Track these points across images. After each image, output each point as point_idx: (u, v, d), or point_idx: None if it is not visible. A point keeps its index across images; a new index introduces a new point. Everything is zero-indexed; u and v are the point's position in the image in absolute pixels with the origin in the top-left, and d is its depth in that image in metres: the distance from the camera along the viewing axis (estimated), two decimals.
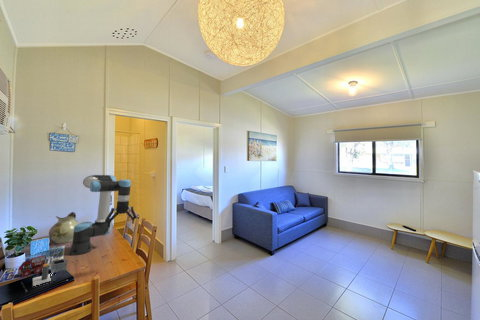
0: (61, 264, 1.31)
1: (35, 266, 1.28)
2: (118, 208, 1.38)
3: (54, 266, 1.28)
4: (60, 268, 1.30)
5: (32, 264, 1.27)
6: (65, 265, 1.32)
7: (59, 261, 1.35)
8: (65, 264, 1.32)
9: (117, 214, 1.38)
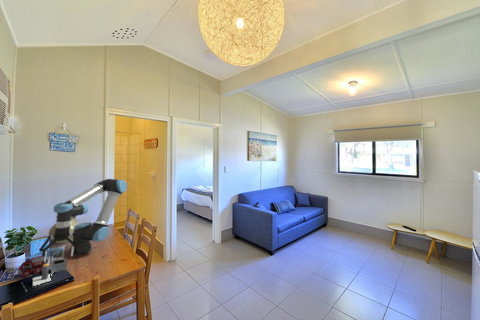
0: (61, 264, 1.31)
1: (35, 266, 1.28)
2: (56, 235, 1.30)
3: (54, 266, 1.28)
4: (60, 268, 1.30)
5: (32, 264, 1.27)
6: (65, 265, 1.32)
7: (59, 261, 1.35)
8: (65, 264, 1.32)
9: (54, 242, 1.29)
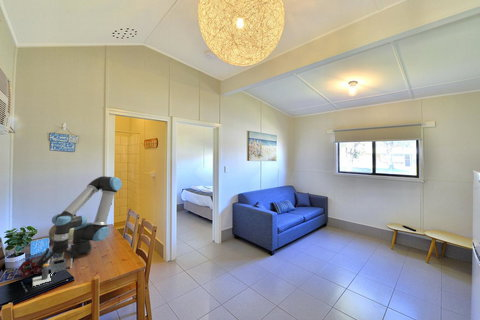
0: (61, 264, 1.31)
1: (35, 266, 1.28)
2: (54, 248, 1.30)
3: (54, 266, 1.28)
4: (60, 268, 1.30)
5: (32, 264, 1.27)
6: (65, 265, 1.32)
7: (59, 261, 1.35)
8: (65, 264, 1.32)
9: None
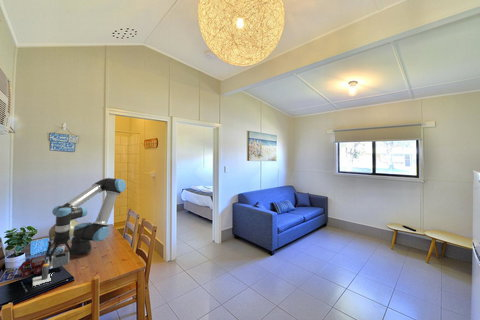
0: (63, 257, 1.32)
1: (35, 266, 1.28)
2: (55, 239, 1.30)
3: (55, 259, 1.29)
4: (61, 262, 1.31)
5: (32, 264, 1.27)
6: (67, 258, 1.33)
7: (61, 255, 1.35)
8: (67, 257, 1.33)
9: (56, 246, 1.31)
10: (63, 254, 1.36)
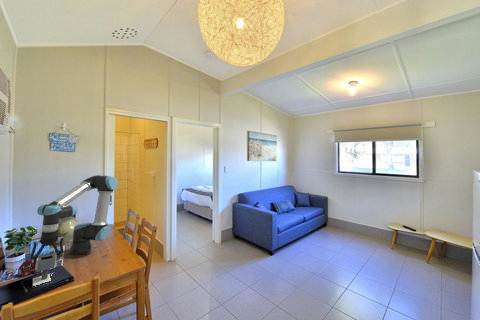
0: (49, 260, 1.20)
1: (35, 266, 1.28)
2: (42, 240, 1.19)
3: (41, 262, 1.17)
4: (47, 265, 1.19)
5: (32, 264, 1.27)
6: (53, 261, 1.21)
7: (47, 257, 1.24)
8: (53, 260, 1.21)
9: (43, 247, 1.19)
10: (50, 257, 1.25)
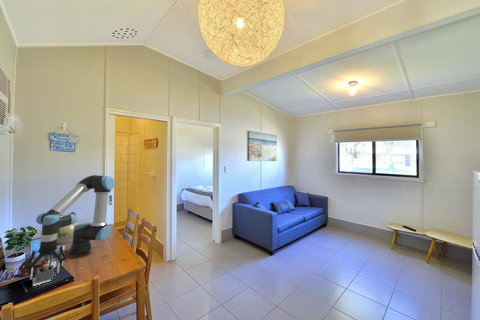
0: (48, 272, 1.19)
1: (35, 266, 1.28)
2: (41, 250, 1.19)
3: (39, 274, 1.17)
4: (46, 276, 1.19)
5: None
6: (52, 273, 1.21)
7: None
8: (52, 271, 1.21)
9: (40, 257, 1.18)
10: None
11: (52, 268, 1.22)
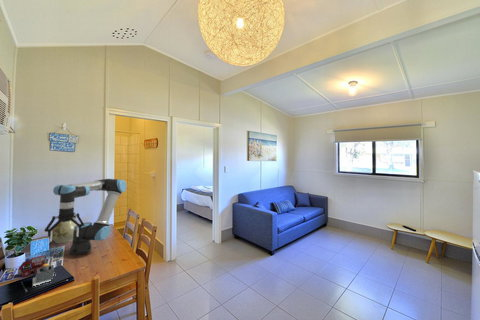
0: (48, 272, 1.19)
1: (35, 266, 1.28)
2: (60, 216, 1.30)
3: (39, 274, 1.17)
4: (46, 276, 1.19)
5: (32, 264, 1.27)
6: (52, 273, 1.21)
7: None
8: (52, 271, 1.21)
9: (59, 222, 1.29)
10: None
11: (52, 268, 1.22)
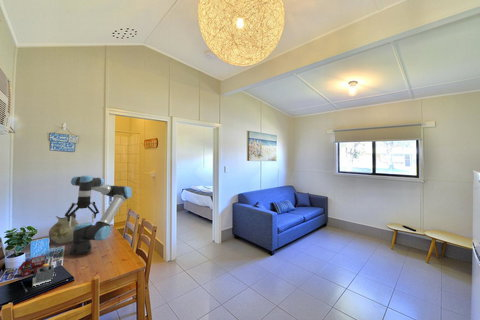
0: (48, 272, 1.19)
1: (35, 266, 1.28)
2: (79, 203, 1.43)
3: (39, 274, 1.17)
4: (46, 276, 1.19)
5: (32, 264, 1.27)
6: (52, 273, 1.21)
7: None
8: (52, 271, 1.21)
9: (77, 209, 1.42)
10: None
11: (52, 268, 1.22)
